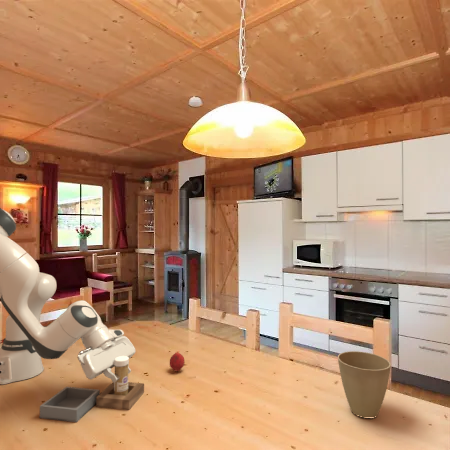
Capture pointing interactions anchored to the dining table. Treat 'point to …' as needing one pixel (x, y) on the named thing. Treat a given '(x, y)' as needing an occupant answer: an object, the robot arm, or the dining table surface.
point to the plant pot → (364, 381)
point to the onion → (177, 361)
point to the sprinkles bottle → (121, 375)
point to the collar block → (120, 397)
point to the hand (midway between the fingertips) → (122, 376)
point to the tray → (69, 404)
